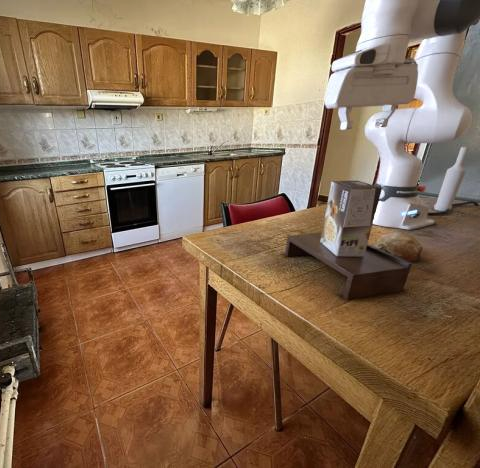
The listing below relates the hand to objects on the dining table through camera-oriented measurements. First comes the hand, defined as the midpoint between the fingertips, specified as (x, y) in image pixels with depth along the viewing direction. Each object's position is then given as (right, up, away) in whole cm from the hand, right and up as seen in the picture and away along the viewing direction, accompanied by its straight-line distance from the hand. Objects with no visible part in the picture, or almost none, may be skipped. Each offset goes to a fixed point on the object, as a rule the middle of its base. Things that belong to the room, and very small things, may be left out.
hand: (363, 128), depth 60 cm
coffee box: (-3, -29, +3) cm, 29 cm away
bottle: (+70, -15, +48) cm, 86 cm away
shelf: (-3, -34, +5) cm, 35 cm away
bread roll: (+19, -31, +13) cm, 38 cm away
